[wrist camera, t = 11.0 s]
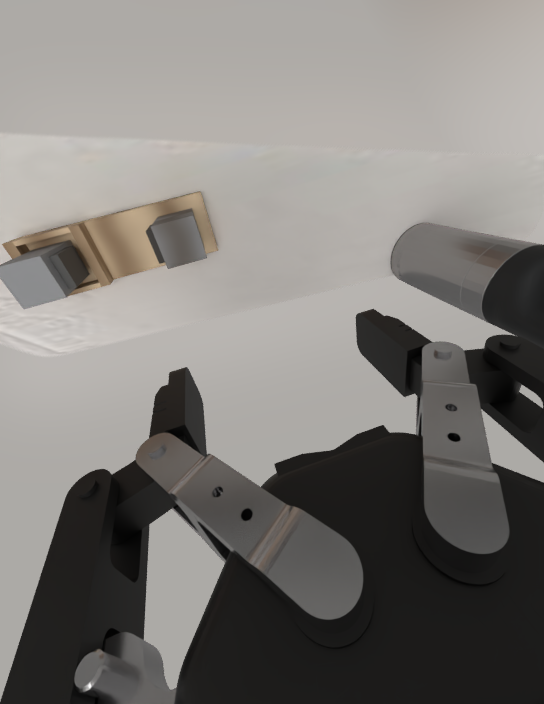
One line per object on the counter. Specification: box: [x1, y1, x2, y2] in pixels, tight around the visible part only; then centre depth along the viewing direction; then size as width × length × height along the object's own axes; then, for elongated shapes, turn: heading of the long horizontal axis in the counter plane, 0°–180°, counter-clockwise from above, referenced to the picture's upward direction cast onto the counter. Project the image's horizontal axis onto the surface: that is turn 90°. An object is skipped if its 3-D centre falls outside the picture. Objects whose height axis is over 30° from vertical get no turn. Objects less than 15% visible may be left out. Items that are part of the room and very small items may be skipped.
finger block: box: [0, 240, 90, 309], centre depth 30 cm, size 5×4×8 cm
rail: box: [2, 191, 218, 296], centre depth 31 cm, size 21×7×10 cm, turn 103°
